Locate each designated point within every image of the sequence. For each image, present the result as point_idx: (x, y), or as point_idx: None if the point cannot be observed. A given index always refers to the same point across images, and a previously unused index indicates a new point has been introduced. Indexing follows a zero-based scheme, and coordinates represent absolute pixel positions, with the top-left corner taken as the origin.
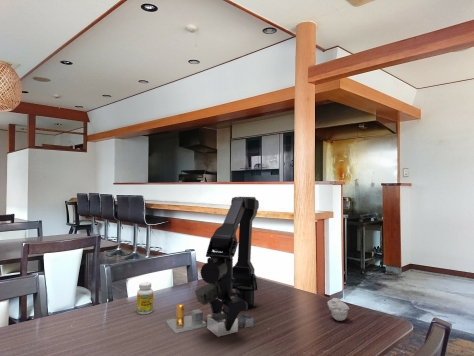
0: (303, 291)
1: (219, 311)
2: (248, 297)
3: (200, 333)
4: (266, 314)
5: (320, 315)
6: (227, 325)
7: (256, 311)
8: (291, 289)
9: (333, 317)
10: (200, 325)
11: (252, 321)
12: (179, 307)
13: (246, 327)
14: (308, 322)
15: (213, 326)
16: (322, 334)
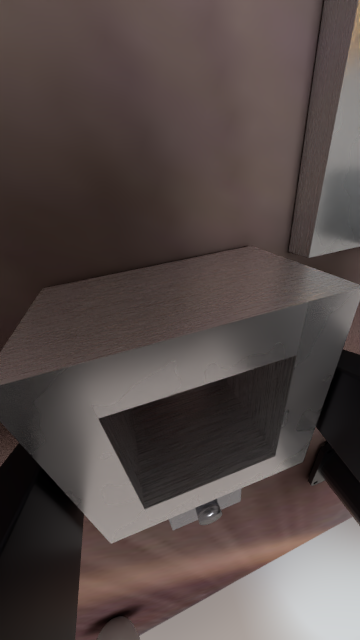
0: (301, 544)
1: (327, 423)
2: (356, 512)
3: (188, 135)
4: (237, 504)
5: (160, 590)
6: (15, 451)
7: (277, 480)
8: (327, 527)
9: (116, 627)
10: (311, 191)
11: None
12: None
13: None
14: (124, 585)
15: (142, 293)
16: None
